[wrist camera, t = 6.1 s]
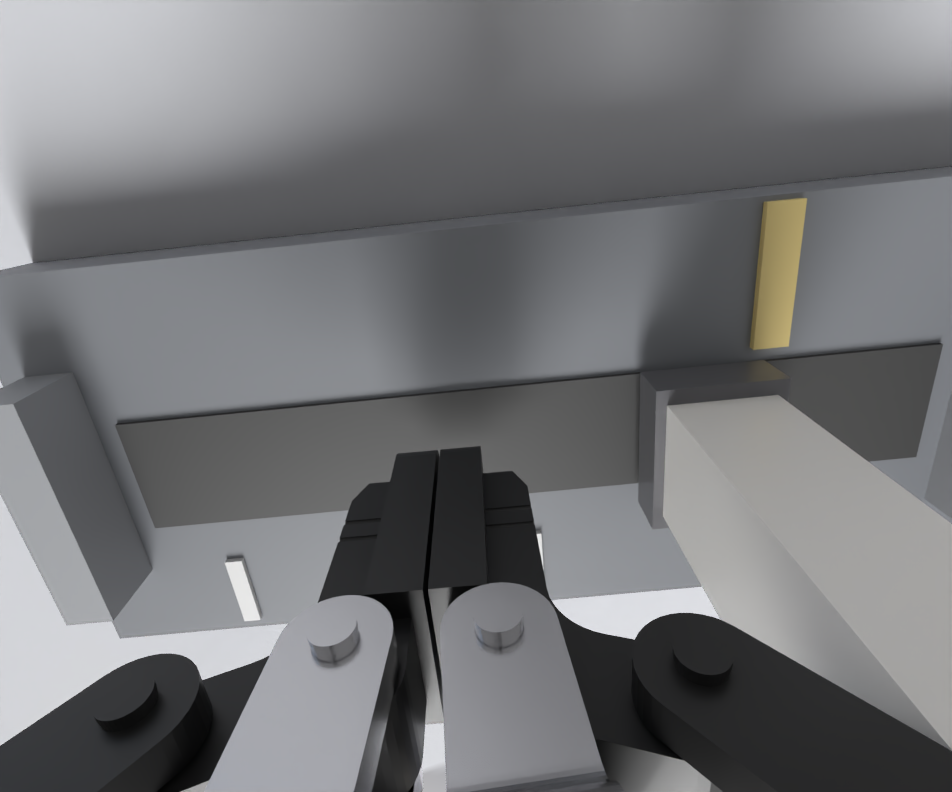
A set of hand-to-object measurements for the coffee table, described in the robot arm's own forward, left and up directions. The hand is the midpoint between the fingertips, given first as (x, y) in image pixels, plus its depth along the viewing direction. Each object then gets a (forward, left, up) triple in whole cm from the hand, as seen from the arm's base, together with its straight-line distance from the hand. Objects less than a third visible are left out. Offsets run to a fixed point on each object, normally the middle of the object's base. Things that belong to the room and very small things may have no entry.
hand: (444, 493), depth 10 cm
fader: (0, +5, -2) cm, 5 cm away
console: (0, +2, -4) cm, 4 cm away
